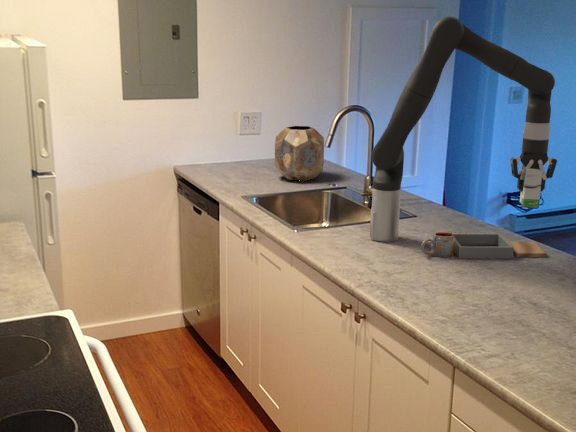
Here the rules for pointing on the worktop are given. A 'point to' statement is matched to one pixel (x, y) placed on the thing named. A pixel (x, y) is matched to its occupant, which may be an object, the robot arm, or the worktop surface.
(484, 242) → the parts bin
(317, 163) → the planter
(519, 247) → the tan flat slab
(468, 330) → the worktop surface
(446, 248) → the mug
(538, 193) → the ink box
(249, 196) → the worktop surface
